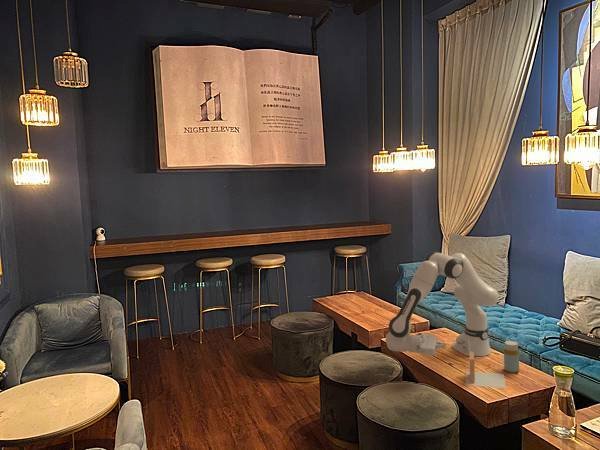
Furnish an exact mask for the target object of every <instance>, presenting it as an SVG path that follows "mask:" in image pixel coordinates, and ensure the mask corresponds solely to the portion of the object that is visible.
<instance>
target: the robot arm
mask: <svg viewBox="0 0 600 450" xmlns="http://www.w3.org/2000/svg"><path fill="white" fill-rule="evenodd" d="M439 275H441V276H444V277H447V278H448V279H451V280H452V279H455V280H456V282H457V284H456V286H455V287H454V290H453V295H454V297H455V299H457V301H459V303H460V304H461V306H462V308H463V311H464V314H465V323H466V325H465V326H463V327H462V329H463V330H464V331H463V332H462V333H460V334H458V336H456V338H455V342H454V343H452V344H451V347H452V348H453V349H454V350H456V351H458V352H459V353H461V354H463V355H465V356H467V357H468V356H469V357H470V352H474V357H485V356H489V355H490V354H491V353H492V350H491V346H490V340H489V328H488V316H487V313H486V312H485V311H484V310H483V309H482V307H494V306H495V305H497V304H498V301H499V300H500V299H499V293H498V291H497V289H495V288H493V287H491V286H490V285H489V284H487V282H485V281H484V280H483V279H482V278H481V277H480V276H479V275H478V273H477V272H476V270H475V268H474V267H473V265H472V263H471V261H470V260H469V258H468V257H466V255H465V254H464V253H461V252H457V253H453V254H452V255H449V254H445V253H441V252H439V251H431V252H429V253H428V255H426V258H425V260H424V261H423V262H421V263H420V265H419V266H418V268H417V269H416V271H415V273H414V275H413V277H412V279H411V281H410V284H409V287H408V291H407V294H406V296H405V300H404V301H403V303H402V305H401V307H400V309H399V312H397V314H396V315H395V316H394V317H392V319H391V320H390V321H389V323H388V331H389V332H388V333H387V334H386V335H385V344H386V347H387V349H388V350H390V351H393V352H400V353H401V352H402V353H405V352H408V353H415V354H420V355H425V356H435V355H436V351H437V350H441V349H446V348H447V347H446V345H447V344H446V343H445V342H441V341H438V335H435V334H430V333H422V332H417V333H416V334H411V330H412V323H411V321H410V320H411V317H412V315H413V314H414V312H415V310H416V308H417V306H418V305H419V304H420V303H421V302H422V301H423V300H424V299H425V298H426V297H427V296H429V294H430V292H431V291H432V289H433V287H434V285H435V283H436V281H437V278H438V277H439ZM480 306H482V307H480Z"/></svg>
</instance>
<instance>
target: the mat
mask: <svg viewBox="0 0 600 450" xmlns="http://www.w3.org/2000/svg"><path fill="white" fill-rule="evenodd" d="M465 386H472V387H483V386H484V387H485V388H497V389H506V388H507V387H506V381H505V374H504V373H496V372H484V371H483V372H482V371H475V383H470V370H469V371H468V370H465ZM484 387H483V388H484Z"/></svg>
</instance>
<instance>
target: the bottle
mask: <svg viewBox="0 0 600 450" xmlns="http://www.w3.org/2000/svg"><path fill="white" fill-rule="evenodd" d="M518 348H519V343H518V341H515V340H506V341H504V350H503V366H504V367H503V368H504V369H503V370H504V371H505V372H507V373H512V374H517V373H519V372H520V352H519V351H520V350H519V349H518Z"/></svg>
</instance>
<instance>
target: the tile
mask: <svg viewBox="0 0 600 450" xmlns="http://www.w3.org/2000/svg"><path fill="white" fill-rule="evenodd" d="M469 371H470V383H475V372H476V370H475V356H474V352H470V355H469Z"/></svg>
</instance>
